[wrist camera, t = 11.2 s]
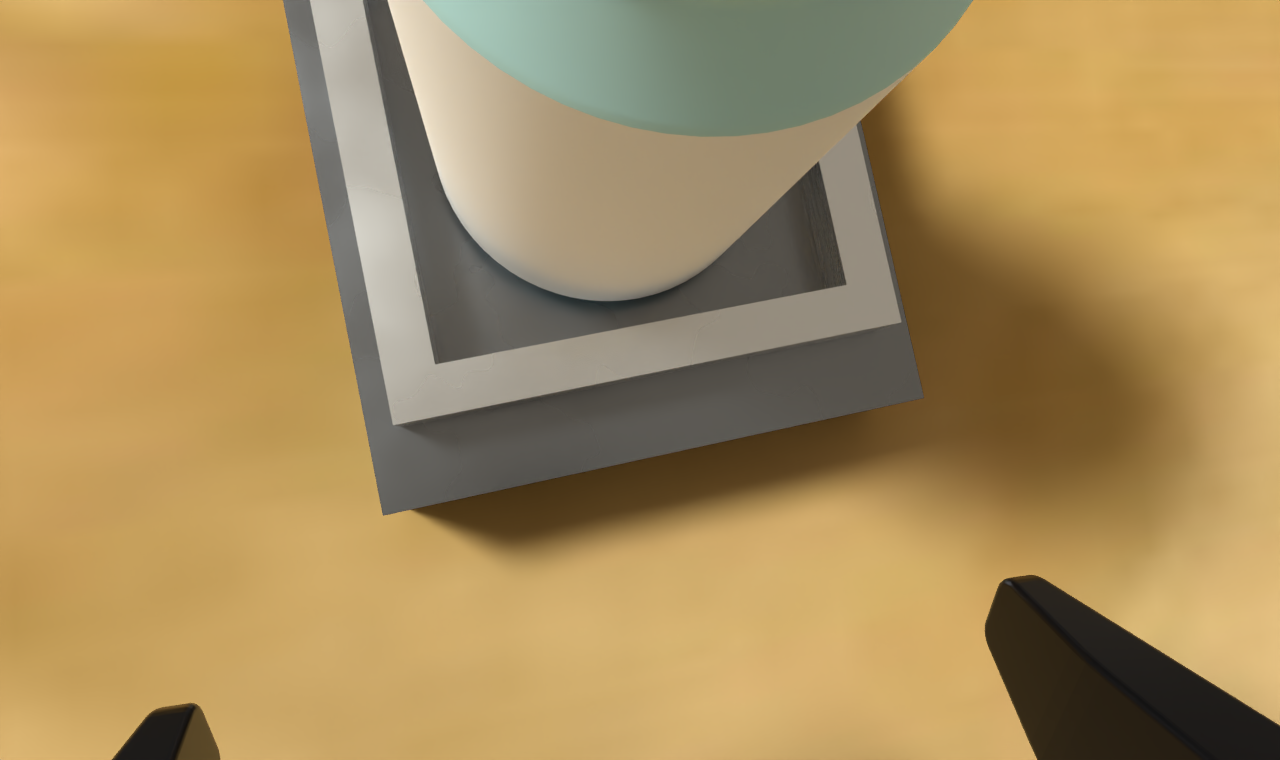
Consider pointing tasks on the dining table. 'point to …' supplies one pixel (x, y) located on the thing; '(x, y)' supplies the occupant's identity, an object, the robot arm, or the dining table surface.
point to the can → (643, 120)
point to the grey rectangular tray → (574, 305)
